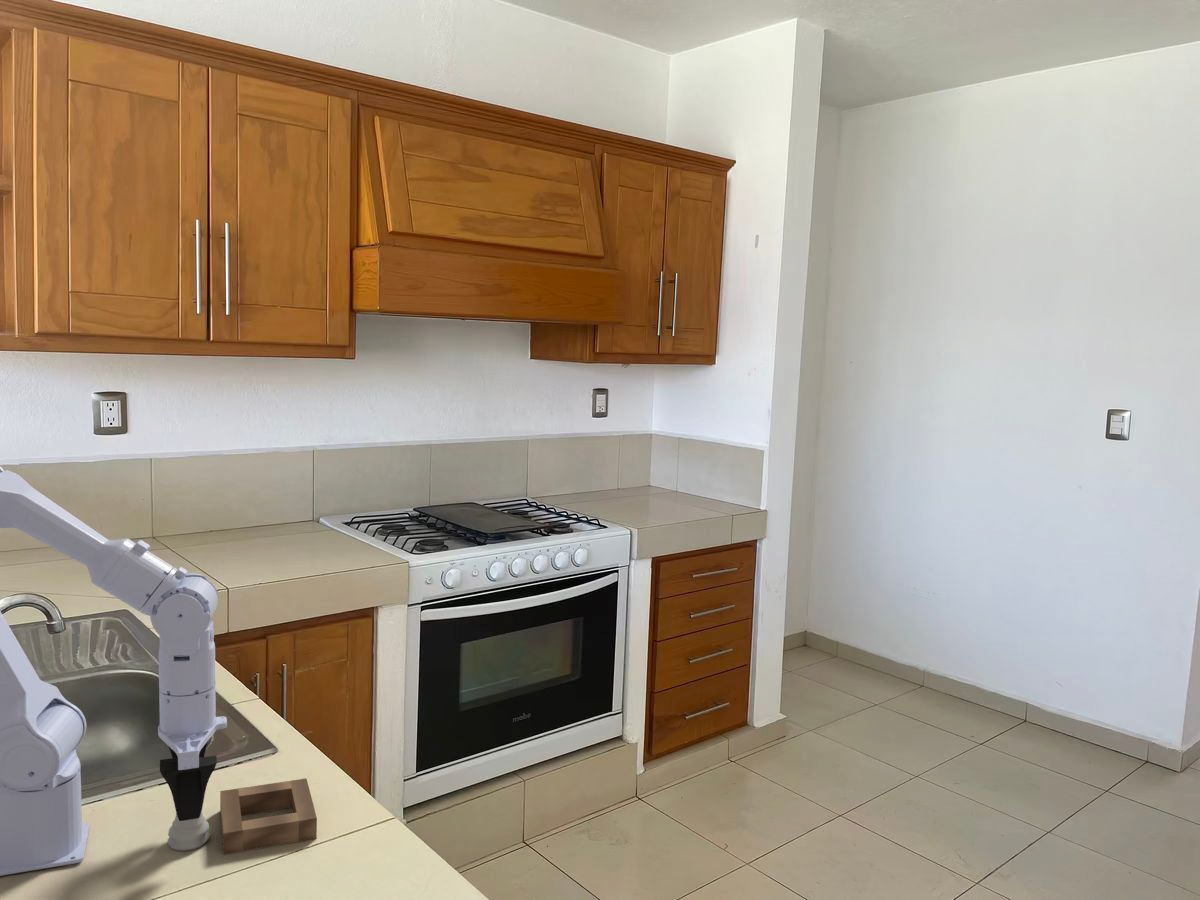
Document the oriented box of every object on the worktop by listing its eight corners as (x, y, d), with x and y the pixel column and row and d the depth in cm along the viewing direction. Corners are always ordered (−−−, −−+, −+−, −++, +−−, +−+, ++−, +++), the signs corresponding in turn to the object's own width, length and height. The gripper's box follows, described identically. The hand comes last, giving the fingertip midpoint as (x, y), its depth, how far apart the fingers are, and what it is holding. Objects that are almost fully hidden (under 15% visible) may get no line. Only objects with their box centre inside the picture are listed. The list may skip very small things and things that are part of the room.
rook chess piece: (194, 855, 103) (193, 787, 102) (158, 849, 103) (157, 781, 102) (218, 834, 107) (218, 769, 106) (184, 828, 108) (183, 763, 107)
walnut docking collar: (223, 854, 103) (223, 833, 103) (220, 810, 112) (220, 791, 112) (316, 838, 107) (316, 818, 107) (306, 797, 116) (306, 778, 116)
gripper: (229, 707, 98) (230, 827, 100) (223, 660, 111) (224, 767, 113) (155, 715, 95) (157, 839, 97) (158, 666, 108) (160, 776, 110)
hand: (189, 801), depth 105 cm, fingers open, 7 cm apart
